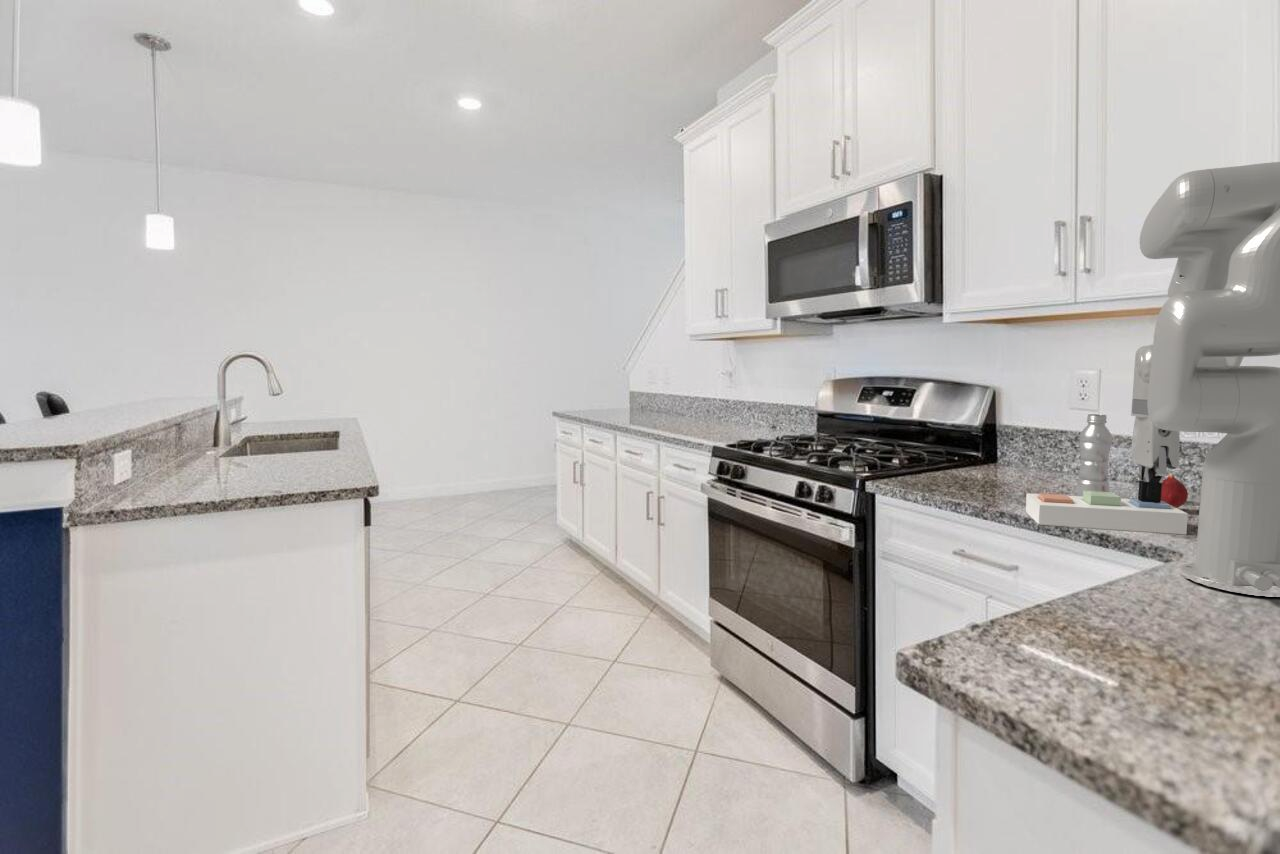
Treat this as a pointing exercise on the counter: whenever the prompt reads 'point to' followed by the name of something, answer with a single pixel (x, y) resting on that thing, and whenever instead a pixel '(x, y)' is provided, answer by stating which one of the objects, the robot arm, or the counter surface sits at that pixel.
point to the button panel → (1107, 516)
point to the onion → (1173, 492)
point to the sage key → (1101, 498)
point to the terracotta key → (1055, 498)
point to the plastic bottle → (1094, 455)
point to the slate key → (1149, 504)
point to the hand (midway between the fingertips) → (1149, 501)
